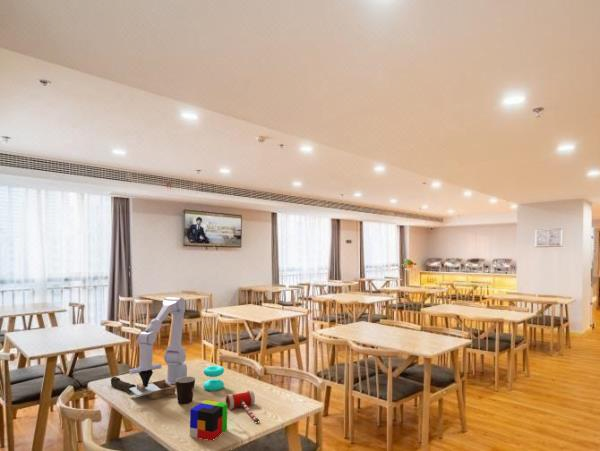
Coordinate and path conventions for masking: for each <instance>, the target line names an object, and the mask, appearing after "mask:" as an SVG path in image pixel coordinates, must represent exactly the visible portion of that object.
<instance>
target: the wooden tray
mask: <svg viewBox="0 0 600 451" xmlns="http://www.w3.org/2000/svg"><path fill="white" fill-rule="evenodd" d="M165 380H166V379H161V380H157V381H151V382H149V383H148V384H151V383H153V384H154V385H156V386H157V387H159V388H160V389H161V390H157V391H152V393H150V394H146V395H145V396H146V397H147V398H149V399H150V400H152V401H153V400H154V401H155V400H158V399H162V398H163V399H164V398H166V397H171V396H174V395H176V389H177V388H176V385H175V386H172V384H171V385H170V384H169V383H167V382H166V381H165Z"/></svg>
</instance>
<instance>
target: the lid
mask: <svg viewBox="0 0 600 451" xmlns="http://www.w3.org/2000/svg"><path fill="white" fill-rule="evenodd" d="M150 383H151V382H150ZM129 390H130V391H132V392H133V395H135V396H137V397H140V396H141V397H142V396H146V394H150V393H152V391H157V390H161V389H160V388H159V387H157V386H156V385H154V384H153V383H151V384H148V387H145V386H144V385H143V383H137V384H136V387H133V388H129Z"/></svg>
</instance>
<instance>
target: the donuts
mask: <svg viewBox="0 0 600 451" xmlns="http://www.w3.org/2000/svg"><path fill="white" fill-rule="evenodd" d="M224 373H225V368H224V367H223V366H221V365H209V366H207V367H205V368H204V370H203V375H205V376H206V377H209V378H213V379H208V380H207V381H205V382H204V384H203V389H205V390H206V391H208V392H209V391H210V392H216V391H220V390H222V389H223V388H224V386H225V383H224V381H223V380H221V379H218V378H217V377H220V376H221V375H223V374H224Z"/></svg>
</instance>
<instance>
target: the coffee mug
mask: <svg viewBox="0 0 600 451" xmlns="http://www.w3.org/2000/svg"><path fill="white" fill-rule="evenodd" d="M195 382H196V378H195V376H191V375H189V376H188V375H187V376H186V377H180V378H178V379H176V383H175V386H176V388H175V389H176V396H177V398H176V399H177V404H179V405H188V404H191V403H193V401H194V400H193V398H194V391H195V385H196V384H195Z"/></svg>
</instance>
